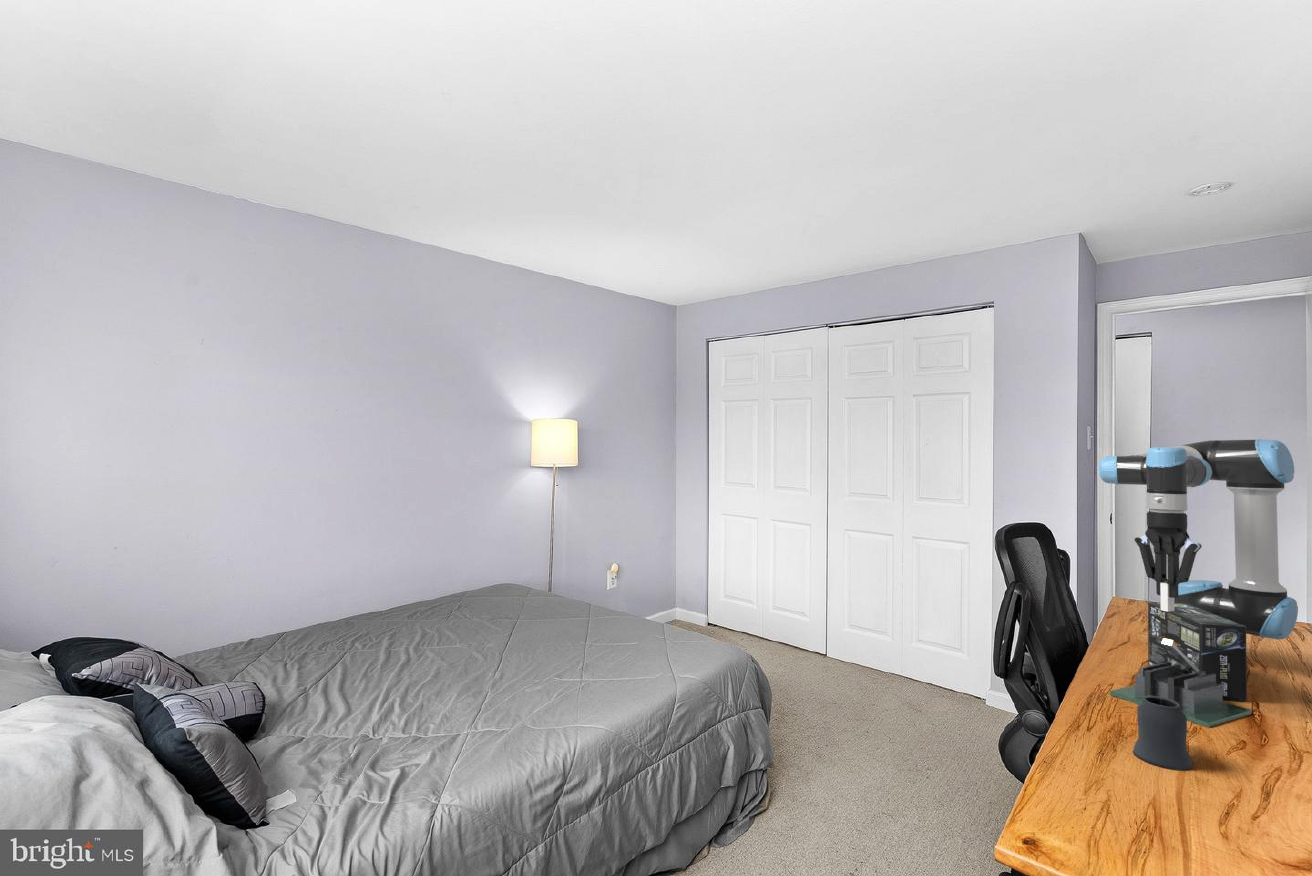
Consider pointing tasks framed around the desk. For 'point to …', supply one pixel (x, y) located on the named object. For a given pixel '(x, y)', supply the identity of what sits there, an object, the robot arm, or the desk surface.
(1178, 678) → the heatsink
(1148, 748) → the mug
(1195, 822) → the desk surface
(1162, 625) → the box
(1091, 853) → the desk surface
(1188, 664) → the strap
